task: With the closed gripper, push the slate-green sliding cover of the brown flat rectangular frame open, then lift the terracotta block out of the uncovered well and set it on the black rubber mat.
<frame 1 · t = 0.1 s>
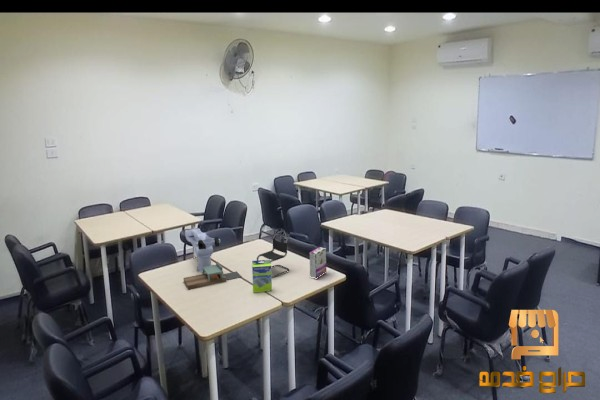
hand: (211, 245, 225), 22 cm above the table, tool horizontal, fingers open, 7 cm apart
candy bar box: (318, 276, 236), on the table
brown flat rectangular frame: (205, 281, 229), on the table
rubber mat: (232, 276, 236), on the table
chair: (273, 272, 241), on the table
box: (262, 290, 217), on the table
sliding cover: (212, 270, 230), point 6 cm above the table, slide at 0.0 cm
terracotta block: (213, 280, 231), resting in brown flat rectangular frame
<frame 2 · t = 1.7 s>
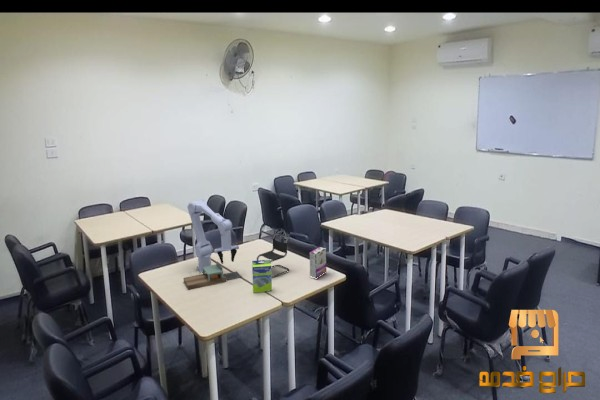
hand: (227, 262, 233), 9 cm above the table, tool pointing down, fingers open, 6 cm apart
nothing on the table moved.
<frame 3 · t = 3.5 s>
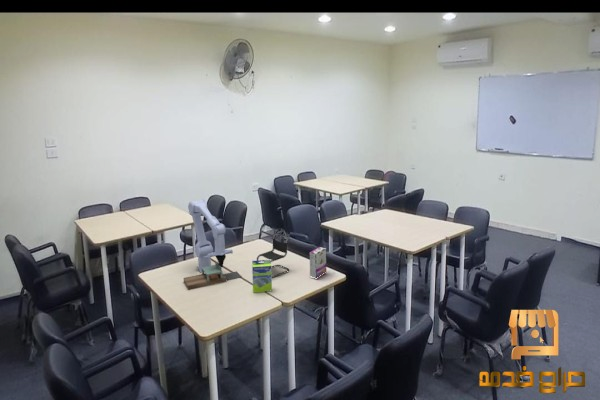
hand: (221, 266, 232), 7 cm above the table, tool pointing down, fingers closed
sliding cover: (211, 271, 229), point 6 cm above the table, slide at 0.6 cm, touching gripper
everything else where it was.
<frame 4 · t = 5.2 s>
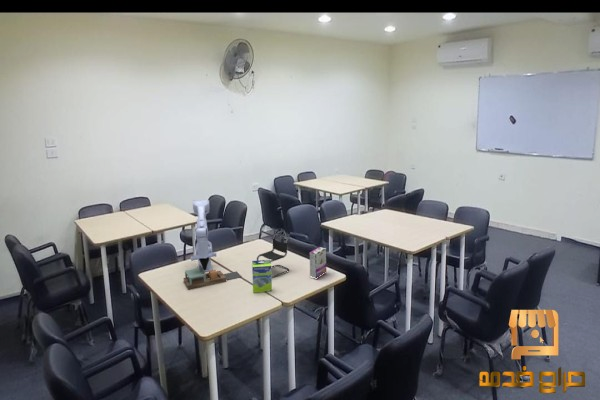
hand: (204, 269, 227), 7 cm above the table, tool pointing down, fingers closed
sliding cover: (195, 274, 225), point 6 cm above the table, slide at 10.4 cm, touching gripper
everything else where it was.
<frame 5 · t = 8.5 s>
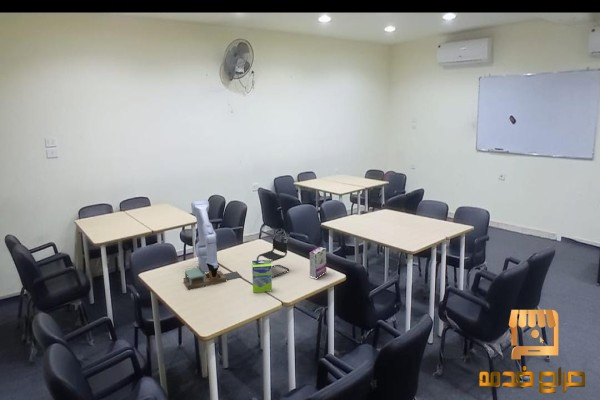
hand: (213, 275, 230), 3 cm above the table, tool pointing down, fingers closed on terracotta block, 4 cm apart
sliding cover: (195, 274, 225), point 6 cm above the table, slide at 10.4 cm
terracotta block: (213, 280, 231), resting in brown flat rectangular frame, touching gripper
everything else where it was.
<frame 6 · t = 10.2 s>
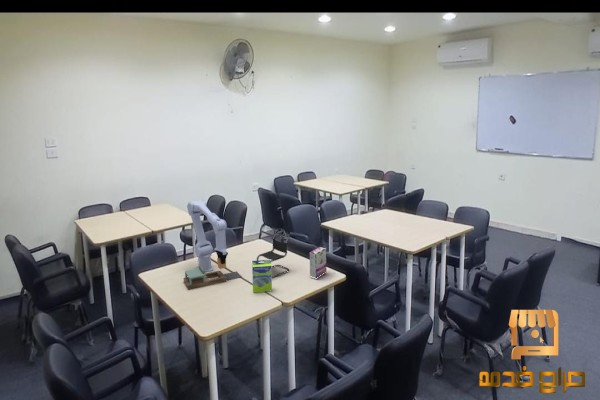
hand: (222, 262, 231), 10 cm above the table, tool pointing down, fingers closed on terracotta block, 4 cm apart
terracotta block: (221, 267, 232), point 7 cm above the table, touching gripper
everything else where it was.
when the fingers open (4 cm above the table, at t = 12.0 s): terracotta block drops 1 cm, resting on rubber mat.
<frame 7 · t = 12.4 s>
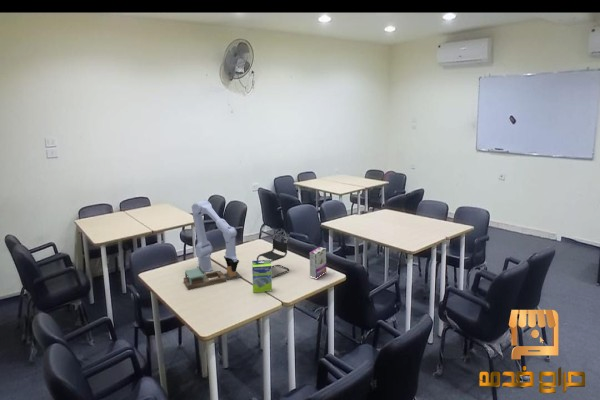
hand: (231, 269, 235), 4 cm above the table, tool pointing down, fingers open, 7 cm apart
terracotta block: (231, 275, 236), resting on rubber mat
everything else where it was.
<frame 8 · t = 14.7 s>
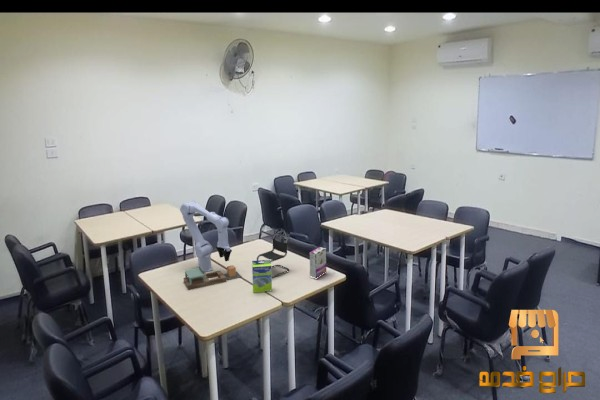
hand: (224, 258, 238), 9 cm above the table, tool pointing down, fingers open, 7 cm apart
nothing on the table moved.
at the end: sliding cover slide at 10.4 cm; terracotta block inside the target area (0.3 cm from its centre), resting on rubber mat; terracotta block tilted 0° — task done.
